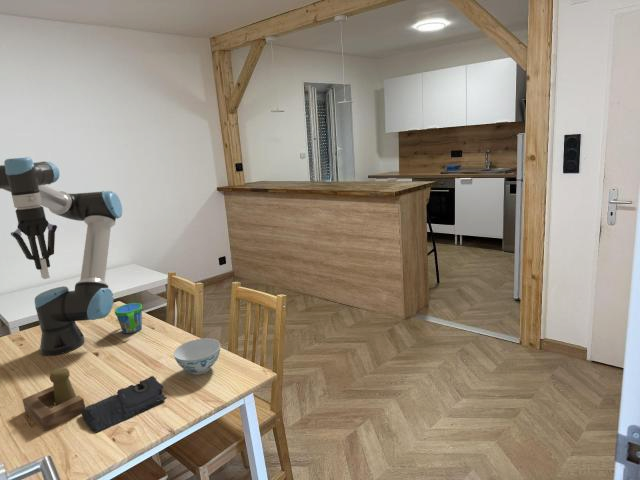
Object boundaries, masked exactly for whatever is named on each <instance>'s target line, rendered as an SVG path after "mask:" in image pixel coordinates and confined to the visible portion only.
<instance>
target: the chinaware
mask: <svg viewBox="0 0 640 480" xmlns="http://www.w3.org/2000/svg"><path fill="white" fill-rule="evenodd" d="M220 351H221V343H220V341H219V340H217V339H214V338H206V337H205V338H198V339H194V340H193V339H192V340H190V341H187V342H184V343H182V344H181V345H179V346H177V348H175V349H174V351H173V357H174V360H175V361H176V363H177V365H178V366H179V367H180V368H181V369H183V370H185V371H186V372H189V373H190V375H193V376H200V375H203V374H206V373H208V372H210V370H211V369H212V367H213V366H214V364H215V363H216V362H217V361H218V358H219V357H220Z"/></svg>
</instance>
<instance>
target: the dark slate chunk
mask: <svg viewBox="0 0 640 480" xmlns="http://www.w3.org/2000/svg"><path fill="white" fill-rule="evenodd" d="M163 389H164V385H162V384H161V383H160V382H159V381H157V378H156V377H155V376H153V375H150V376H149V377H148V378H145V379H143V380H140V381H139V383H136V384H131V385H129V386H126V387H125V388H124V387H123V388H120V389H118V390H117V392H116V394H113V395H111V396H108V397H106V398H104V399H102V400H99V401H98V402H95V403H92V404H89V405H87V406H85V407H84V408H83V409H82V412H81V413H80V414H81V416H82V419H83V421H84V423H85V424H86V426H87V427H88V428H89V430H90V431H91V432H93V433H94V432H95V433H96V434H97V433H101V432H104V431H105V430H108V429H110V428H111V427H114V426H116V425H119V424H121V423H122V422H125V421H128V420H130V419H132V418H134V417H136V416H139V415H141V414H143V413H145V412H147V411H150V410H152V409H154V408H156V407H159V406H161V405H163V404H165V401H166V399H168V397H167V396H165V395H164V394H163Z"/></svg>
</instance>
